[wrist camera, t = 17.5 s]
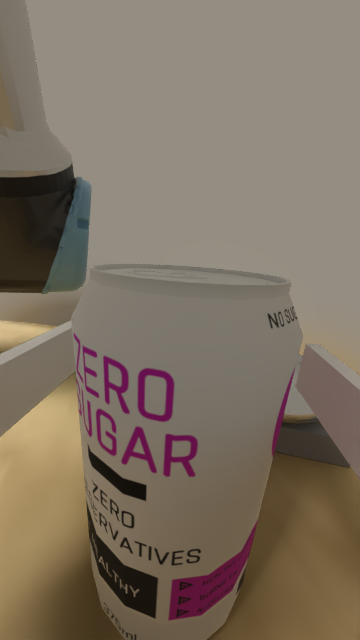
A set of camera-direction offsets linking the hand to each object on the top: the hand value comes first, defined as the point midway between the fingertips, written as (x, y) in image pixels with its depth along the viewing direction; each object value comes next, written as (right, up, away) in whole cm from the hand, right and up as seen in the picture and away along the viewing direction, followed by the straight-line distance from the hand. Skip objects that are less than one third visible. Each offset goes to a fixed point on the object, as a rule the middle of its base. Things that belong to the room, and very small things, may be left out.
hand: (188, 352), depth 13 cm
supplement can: (-1, -11, 0) cm, 11 cm away
